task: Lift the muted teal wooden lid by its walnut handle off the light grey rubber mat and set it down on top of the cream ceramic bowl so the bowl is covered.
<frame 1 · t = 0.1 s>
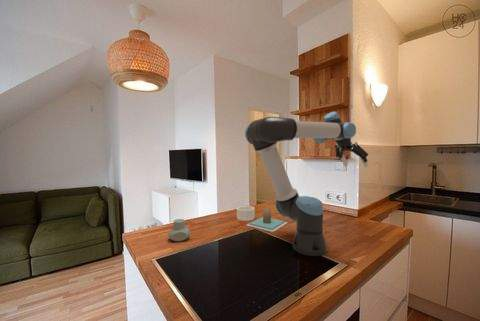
hand: (356, 165, 129), 36 cm above the counter, fingers open, 13 cm apart
bowl: (245, 218, 146), on the counter
lid: (267, 223, 134), resting on mat
air freshener: (179, 239, 113), on the counter
mat: (267, 224, 134), on the counter
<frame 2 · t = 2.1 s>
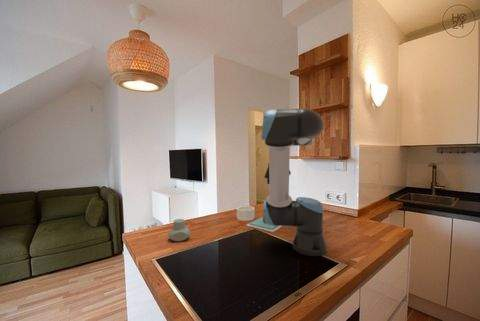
hand: (278, 187, 137), 22 cm above the counter, fingers open, 13 cm apart
nothing on the counter moved.
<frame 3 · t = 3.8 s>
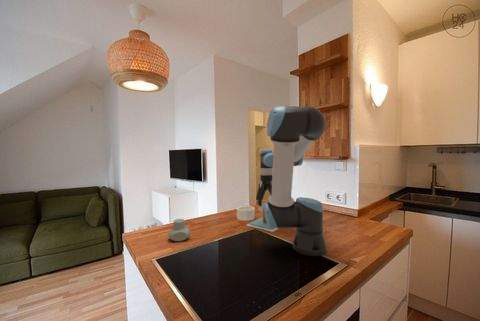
hand: (266, 208, 134), 10 cm above the counter, fingers open, 13 cm apart
nothing on the counter moved.
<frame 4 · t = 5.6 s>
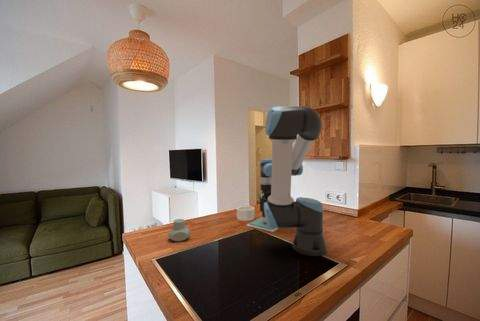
hand: (267, 220, 133), 2 cm above the counter, fingers closed on lid, 5 cm apart
lid: (267, 223, 134), resting on mat, touching gripper
everything else where it was.
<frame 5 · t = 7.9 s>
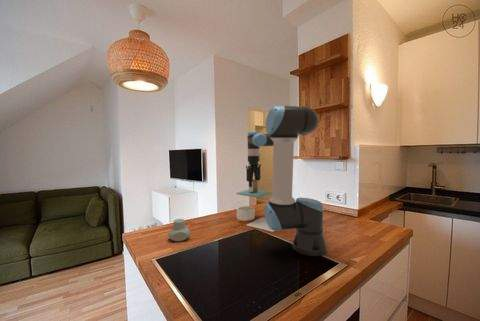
hand: (253, 190, 141), 20 cm above the counter, fingers closed on lid, 5 cm apart
lid: (253, 193, 141), point 18 cm above the counter, touching gripper
everything else where it was.
when the fingers open (11 cm above the counter, at t = 10.6 s): lid drops 2 cm, resting on bowl.
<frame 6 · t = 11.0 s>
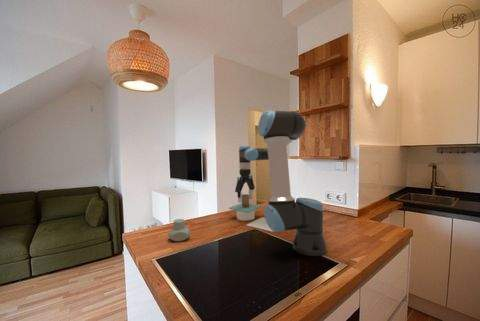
hand: (245, 200, 146), 12 cm above the counter, fingers open, 11 cm apart
lid: (245, 208, 146), point 7 cm above the counter, touching bowl
everything else where it was.
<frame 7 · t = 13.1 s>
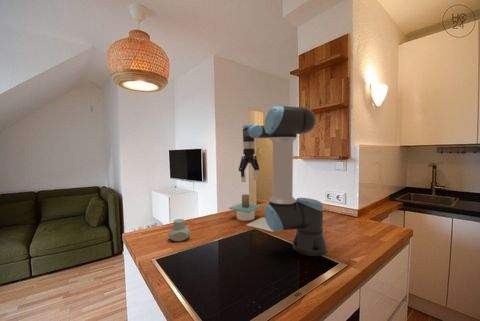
hand: (249, 180, 140), 26 cm above the counter, fingers open, 13 cm apart
nothing on the counter moved.
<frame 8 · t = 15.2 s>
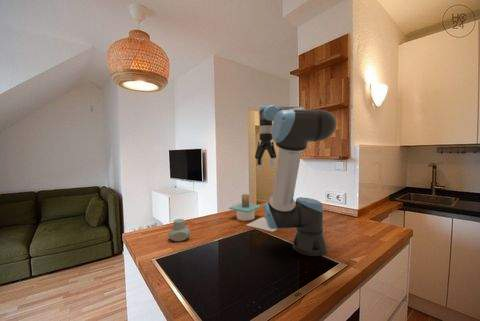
hand: (266, 169, 126), 35 cm above the counter, fingers open, 13 cm apart
nothing on the counter moved.
at the end: lid 0.0 cm off-centre on the bowl, point 7.0 cm above the bowl's base; lid tilted 0°; the gripper is holding nothing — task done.
